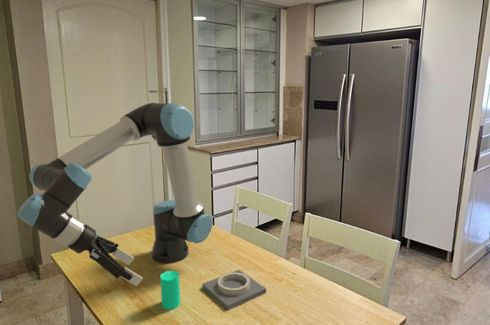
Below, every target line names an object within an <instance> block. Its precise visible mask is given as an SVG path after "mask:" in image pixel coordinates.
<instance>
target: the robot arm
mask: <svg viewBox="0 0 490 325" xmlns="http://www.w3.org/2000/svg"><path fill="white" fill-rule="evenodd" d="M194 127H195V121H194V117H193V114H192V113H191V111H190V110H189V109H188V108H187V107H186V106H184V105H181V104H177V103H174V102H172V103H163V102H162V103H159V102H158V103H157V102H149V103H146V104H144V105H140V106H139V107H137V108H135V109H133V110H131V111H129V112H128V113H126V114H125V115H122V116H121V117H120V118H119V121H118V122H117V123H115V124H113V125H112V126H110V127H108V128H107V129H105V130H103V131H100V132H99V133H98V134H96V135H94V136H92V137H91V138H90V139H88V140H86V141H84V142H83V143H80V144H79V145H78V146H76V147H74V148H72V149H71V150H69V151H68V152H66V153H64V154H62V155H60V156H59V157H57V158H55V159H54V160H52V161H50V162H48V163H39V164H37V165H35V166H33V167H32V169H31V170H30V172H29V176H28V177H29V182H30V183H31V184H32V185H33V186H35V187H36V188H38V189H39V190H40V191H41V190H42V191H44V192H43V193H42V194H39V193H36V192H35V193H32V194H31V195H30V196H29V197H28V198H27V199H26V200H25V201H24V202H23V204H22V205H21V206H20V208H19V209H18V210H17V214H16V215H17V218H19V219H20V220H21V221H23V222H24V223H26V224H27V225H29V226H30V227H31V228H34V229H35V230H36V231H37V230H38V231H39V232H40V233H42V234H45V235H46V236H48V237H50V238H51V239H53V240H54V243H55V244H56V243H57V244H58V243H60V244H62V245H63V246H65V247H66V246H67V248H68V249H70V251H71V250H72V251H73V252H74V253H76V254H82V253H84V252H85V251H87V252H88V254H89V256H88V257H89V259H91V260H93V261H94V262H96V263H97V264H98V265H100V266H101V268H103V269H104V270H106V271H107V272H109V273H110V274H111V275H112V276H113V277H114V278H115V279H119V278H121V279H123V280H125V281H127V282H128V283H131V285H133V286H135V287H138V285H139V284H141V282H142V281H143V279H144V278H143V277H142V276H141V275H140V274H138V273H135V272H134V271H132V270H131V269H129V268H127V267H126V266H123V265H121V264H120V263H119V262H118V261H117V260H116V259H118V260H119V261H121V262H123V264H126V265H127V266H129V265H131V263H132V262H133V261H134V260H135V257H134V256H132V255H131V254H129V253H128V252H126V251H124V250H122V249H121V248H120V247H119V245H120V244H118V243H117V242H116V243H115V242H114V241H112V240H109V239H106V238H104V237H102V236H100V235H97V232H96V230H95V229H94V228H92V227H91V226H89V225H88V224H84V222H83V221H82V220H80V219H78V218H77V217H75V215H73V214H71V213H69V212H68V210H69V209H70V208H71V207H72V205H73V204H74V203H75V202H76V201H77V199H78V198H79V197H80V196H81V194H83V192H84V191H85V190H86V189H87V188H88V185H89V184H90V182H91V181H92V179H93V176H92V174H91V173H90V172H89V171H88V169H89V168H91V167H92V166H93V165H95V164H97V163H98V162H100V161H102V160H103V159H104V158H106V157H108V156H109V155H111V154H112V153H114V152H116V151H118V150H119V149H120V148H122V147H123V146H125V145H126V144H128V143H130V142H131V141H138V140H139V139H141V138H143V137H147V136H153V137H154V136H155V139H156V140H155V141H156V143H157V146H158V147H159V148H161V149H162V150H163V155H164V158H165V163H166V167H167V168H166V170H167V173H168V177H169V182H170V186H171V190H172V194H173V199H171V200H170V199H169V200H165V201H161V202H158V203H156V204H155V205H154V206H153V214H152V215H153V226H154V235H155V236H154V242H153V246H152V249H151V257H152V259H153V260H154V261H156V262H158V263H163V264H168V263H176V262H179V261H181V260H184V259H185V258H187V257H188V255H189V245H188V243H187V242H189V243H193V244H200V243H202V242H204V241H205V240H206V239H207V238H208V237H209V235H210V233H211V232H212V229H213V218H212V216H210V215H209V214H208V213H205V208H204V204H203V203H202V202H200V201H199V198H198V194H197V188H196V183H195V178H194V173H193V168H192V164H191V159H190V158H191V157H190V154H189V152H190V151H189V148H188V143H189V142H190V141H191V135H192V133H193V132H194V131H193V129H195V128H194Z"/></svg>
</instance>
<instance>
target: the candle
mask: <svg viewBox="0 0 490 325" xmlns="http://www.w3.org/2000/svg"><path fill="white" fill-rule="evenodd" d="M179 273H180V272H178V271H177V270H166V271H164V272H163V273H161V274H160V279H159V280H160V291H161V293H160V294H161V307H162V308H163V309H164V310H168V311H169V310H174V309H177V308H179V306H180V305H181V297H180V296H181V293H180V290H181V289H180V288H181V287H180V276H179V275H180V274H179Z"/></svg>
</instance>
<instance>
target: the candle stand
mask: <svg viewBox="0 0 490 325" xmlns="http://www.w3.org/2000/svg"><path fill="white" fill-rule="evenodd" d="M201 287H202V289H203V290H204V291H206V292H207V293H208V294H209V295H210V296H211V297H212V298H214V299H215V300H216V301H217V302H218V303H219V304H220V305H222V306H223V307H224V308H226V310H231V309H233V308H236V307H238V306H239V305H241V304H244V303H247V302H248V301H251V300H253V299H254V298H257V297H259V296H261V295H263V294H265V293H267V288H266V287H265V286H263V285H262V284H260V283H259V282H258V281H256V280H255V279H254V278H252V277H250V276H249V275H247V274H246V273H245V272H243V271H241V270H240V269H237V270H234V271H232V272H227V273H226V274H222V275H221V276H219V277H216V278H213V279H211V280H209V281H208V280H207V281H206V282H203V283H202V284H201Z"/></svg>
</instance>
